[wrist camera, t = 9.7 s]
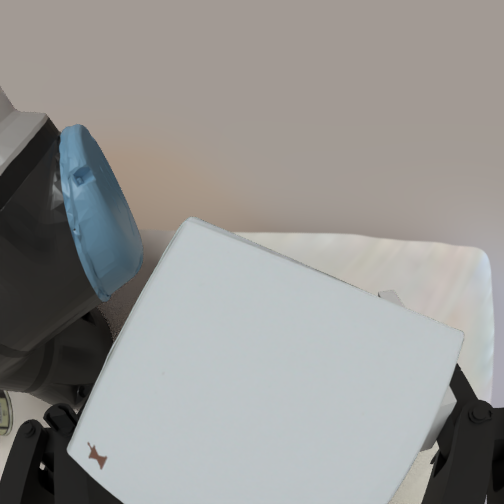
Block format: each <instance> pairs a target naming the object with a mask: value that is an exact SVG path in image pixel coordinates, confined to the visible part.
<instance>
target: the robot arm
mask: <svg viewBox="0 0 504 504" xmlns="http://www.w3.org/2000/svg"><path fill="white" fill-rule="evenodd" d="M142 262H143V246H142V241H141V237H140V234H139V231H138V228H137V225H136V223H135V221H134V218H133V215H132V213H131V211H130V208H129V206H128V203H127V201H126V199H125V197H124V194H123V192H122V190H121V188H120V186H119V184H118V182H117V180H116V178H115V175H114V173H113V171H112V169H111V167H110V165H109V163H108V162H107V160H106V158H105V156H104V154H103V152H102V150H101V149H100V147H99V145H98V144H97V142H96V141H95V139H94V138H93V137H92V136H91V135H90V133H89V131H88V130H87V129H86V127H84V126H83V125H79V124H76V125H73V126H71V127H66V128H65V129H64V130H63V131H62V133H61V132H59V131H58V129H57V128H56V127H55V125H54V124H53V122H52V121H51V120H50V118H49V117H48V116H47V115H46V114H45V113H36V112H20V111H18V110H17V109H15V108H14V107H13V105H12V104H11V102H10V101H9V99H8V98H7V96H6V95H5V93H4V91H3V90H2V89H1V87H0V390H6V391H14V392H24V393H29V394H31V395H33V396H35V397H37V398H39V399H41V400H43V401H45V402H47V403H49V404H51V405H53V406H51V407H50V408H49V409H48V410H47V411H46V412H45V414H44V417H43V419H44V420H45V421H46V422H47V424H48V425H49V426H50V427H51V428H44V427H43V426H42V425H41V424H40V423H39V422H38V421H37V420H34V419H32V420H28V421H26V422H24V423H23V424H22V425H21V426H20V428H19V429H18V432H17V434H16V437H15V439H14V442H13V445H12V448H11V450H10V453H9V456H8V459H7V462H6V465H5V468H4V471H3V474H2V477H1V481H0V504H124V503H123V502H121V501H120V500H119V499H117V498H116V497H115V496H114V495H112V494H111V493H110V492H109V491H107V490H106V489H105V488H104V487H103V486H102V485H100V484H99V483H98V482H97V481H96V480H95V479H94V478H92V477H91V476H90V475H89V474H88V473H87V472H86V471H85V470H84V469H83V468H82V467H81V466H80V465H79V464H78V463H77V462H76V461H75V460H74V459H73V458H72V457H71V456H70V455H69V454H68V452H67V447H68V444H69V442H70V440H71V439H72V436H73V434H74V431H75V429H76V426H77V424H78V422H79V419H80V417H81V415H82V412H83V410H84V408H85V406H86V403H87V401H88V399H89V397H90V394H91V392H92V390H93V388H94V385H95V383H96V381H97V379H98V377H99V375H100V372H101V370H102V368H103V366H104V363H105V361H106V358H107V356H108V354H109V352H110V350H111V348H112V346H113V342H112V337H111V333H110V330H109V327H108V325H107V322H106V320H105V318H104V317H103V315H102V314H101V312H100V311H99V310H98V309H97V308H96V306H97V305H99V304H100V303H102V302H104V301H105V302H106V301H108V300H109V299H110V297H111V294H112V293H114V292H115V291H116V290H117V289H119V288H120V287H121V286H123V285H124V284H125V283H126V282H128V281H129V280H130V279H132V278H133V277H134V276H135V275H136V274H137V273H138V271H139V270H140V268H141V265H142ZM378 297H381V298H383V299H385V300H388V301H390V302H393V303H395V304H397V305H400V306H402V307H404V305H403V303H402V302H401V300H400V299H399V297H398V295H397V294H396V292H395V291H394V290H390V291H383V292H378ZM73 409H80V410H79V412H78V414H76V413H75V412H74V410H73ZM436 440H437V443H438V446H439V450H438V451H437V453H436V454H435V456H434V457H433V459H432V461H431V463H430V464H433V463H434V465H433V469H432V472H431V476H430V479H429V482H428V485H427V488H426V492H425V495H424V497H423V500H422V503H421V504H484V503H485V499H486V494H487V504H504V408H493V407H492V406H491V405H490V404H489V403H487V402H486V401H482V400H478V398H477V397H476V395H475V393H474V391H473V389H472V388H471V386H470V384H469V382H468V380H467V379H466V377H465V375H464V373H463V372H462V371H461V368H460V367H459V365H458V363H456V366H455V369H454V372H453V375H452V378H451V381H450V384H449V386H448V389H447V392H446V394H445V397H444V399H443V402H442V404H441V407H440V409H439V411H438V414H437V416H436V418H435V420H434V423H433V425H432V427H431V429H430V431H429V433H428V435H427V438H426V440H425V442H424V444H423V446H422V448H421V449H420V451H419V452H421V451H424V450H427V449H431V448H432V447H433V445H434V443H435V442H436ZM41 462H42V463H43V464H44V465H45V468H44V470H42V469H40V468H39V467H40V463H41Z"/></svg>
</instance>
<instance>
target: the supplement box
mask: <svg viewBox="0 0 504 504" xmlns="http://www.w3.org/2000/svg"><path fill="white" fill-rule="evenodd" d="M463 341H464V332H463V331H461V330H458V329H455V328H453V327H450V326H448V325H446V324H443V323H441V322H438V321H436V320H434V319H431V318H429V317H426V316H424V315H422V314H419V313H417V312H414V311H412V310H410V309H407V308H405V307H402V306H400V305H397V304H395V303H393V302H390V301H388V300H385V299H383V298H381V297H378V296H376V295H373V294H371V293H369V292H366V291H364V290H362V289H360V288H357V287H355V286H353V285H351V284H348V283H346V282H344V281H342V280H339V279H337V278H335V277H333V276H330V275H328V274H326V273H323V272H321V271H319V270H317V269H314V268H312V267H310V266H307V265H305V264H303V263H301V262H298V261H296V260H294V259H291V258H289V257H287V256H284V255H282V254H280V253H277V252H275V251H273V250H271V249H268V248H266V247H264V246H261V245H259V244H257V243H255V242H252V241H250V240H248V239H245V238H243V237H241V236H238V235H236V234H234V233H231V232H229V231H227V230H224V229H222V228H220V227H217V226H215V225H213V224H210V223H208V222H206V221H204V220H201V219H199V218H197V217H189V218H187V219H186V220H185V221H184V222H183V223H182V224H181V225H180V227H179V228H178V230H177V231H176V233H175V235H174V237H173V238H172V240H171V241H170V243H169V245H168V246H167V248H166V250H165V251H164V253H163V255H162V257H161V259H160V261H159V262H158V264H157V266H156V268H155V269H154V271H153V273H152V275H151V276H150V278H149V280H148V282H147V283H146V285H145V287H144V289H143V290H142V292H141V294H140V296H139V298H138V299H137V301H136V303H135V305H134V307H133V309H132V311H131V313H130V315H129V317H128V318H127V320H126V322H125V324H124V326H123V328H122V330H121V332H120V334H119V335H118V337H117V339H116V341H115V342H114V344H113V346H112V348H111V350H110V352H109V354H108V356H107V358H106V361H105V363H104V366H103V368H102V370H101V372H100V375H99V377H98V379H97V381H96V383H95V385H94V388H93V390H92V392H91V394H90V397H89V399H88V401H87V403H86V406H85V408H84V410H83V412H82V415H81V417H80V419H79V422H78V424H77V426H76V429H75V431H74V434H73V436H72V439H71V440H70V442H69V444H68V447H67V452H68V454H69V455H70V456H71V457H72V458H73V459H74V460H75V461H76V462H77V463H78V464H79V465H80V466H81V467H82V468H83V469H84V470H85V471H86V472H87V473H88V474H89V475H90V476H91V477H92V478H94V479H95V480H96V481H97V482H98V483H99V484H100V485H102V486H103V487H104V488H105V489H106V490H107V491H109V492H110V493H111V494H112V495H114V496H115V497H116V498H117V499H119V500H120V501H121V502H123V503H124V504H388V503H389V502H390V500H391V499H392V497H393V496H394V494H395V493H396V491H397V490H398V488H399V486H400V485H401V483H402V482H403V480H404V478H405V477H406V475H407V473H408V471H409V470H410V468H411V466H412V464H413V463H414V461H415V459H416V457H417V455H418V453H419V451H420V449H421V448H422V446H423V444H424V442H425V440H426V438H427V435H428V433H429V431H430V429H431V427H432V425H433V423H434V420H435V418H436V416H437V414H438V411H439V409H440V407H441V404H442V402H443V399H444V397H445V394H446V392H447V389H448V386H449V384H450V381H451V378H452V375H453V372H454V369H455V366H456V363H457V360H458V357H459V354H460V350H461V347H462V344H463Z"/></svg>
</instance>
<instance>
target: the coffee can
mask: <svg viewBox="0 0 504 504" xmlns="http://www.w3.org/2000/svg"><path fill="white" fill-rule="evenodd" d="M12 423H13V415H12V407H11V402H10V398H9V396H8V393H7V391H6V390H0V435H2V436H6V435H8V434H9V433H10V431H11V428H12Z"/></svg>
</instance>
